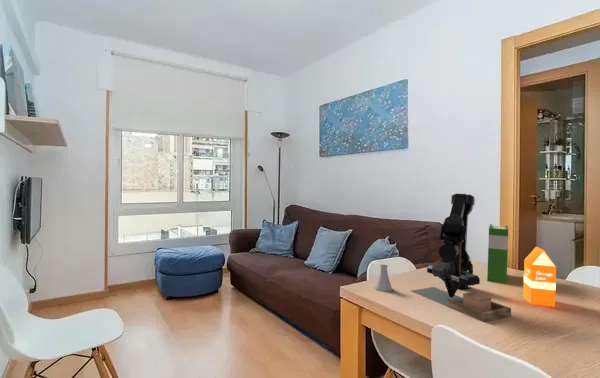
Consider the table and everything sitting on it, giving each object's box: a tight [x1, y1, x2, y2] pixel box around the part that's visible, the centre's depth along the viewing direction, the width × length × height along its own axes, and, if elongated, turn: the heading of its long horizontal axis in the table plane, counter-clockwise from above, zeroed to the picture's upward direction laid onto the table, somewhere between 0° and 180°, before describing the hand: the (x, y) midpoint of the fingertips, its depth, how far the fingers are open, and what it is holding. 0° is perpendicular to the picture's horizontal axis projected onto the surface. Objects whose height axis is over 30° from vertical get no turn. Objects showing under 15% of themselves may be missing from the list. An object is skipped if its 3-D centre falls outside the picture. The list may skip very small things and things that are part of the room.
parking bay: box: [447, 299, 512, 323], centre depth 113 cm, size 13×14×2 cm
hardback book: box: [486, 223, 509, 285], centre depth 155 cm, size 18×7×24 cm, turn 149°
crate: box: [462, 291, 493, 312], centre depth 113 cm, size 6×6×5 cm
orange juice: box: [522, 246, 557, 308], centre depth 124 cm, size 8×9×20 cm
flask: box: [374, 263, 393, 293], centre depth 135 cm, size 7×7×10 cm
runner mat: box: [410, 286, 484, 323], centre depth 121 cm, size 13×32×1 cm, turn 25°
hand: (451, 297), depth 123 cm, fingers closed
